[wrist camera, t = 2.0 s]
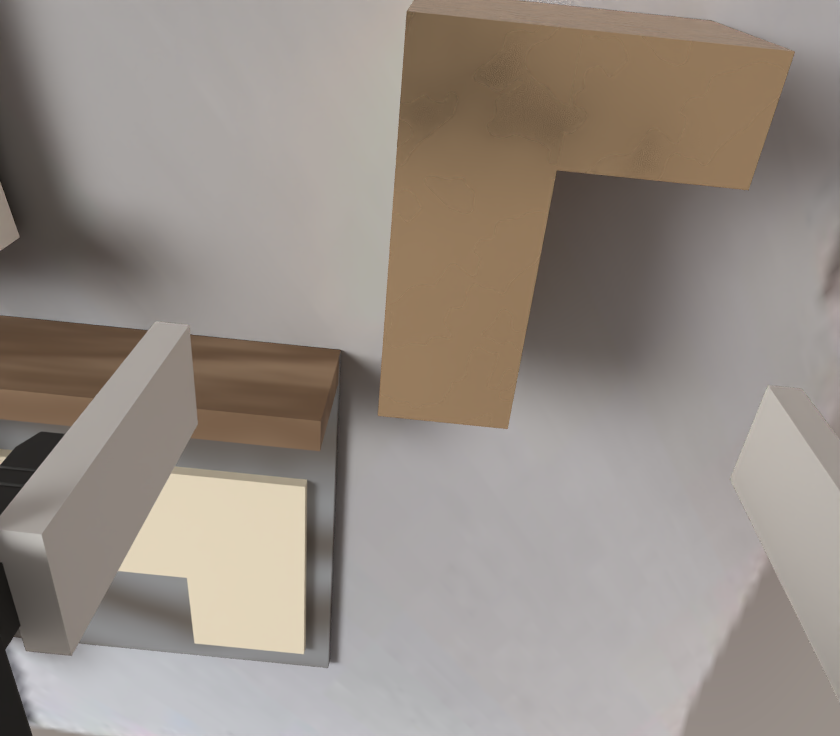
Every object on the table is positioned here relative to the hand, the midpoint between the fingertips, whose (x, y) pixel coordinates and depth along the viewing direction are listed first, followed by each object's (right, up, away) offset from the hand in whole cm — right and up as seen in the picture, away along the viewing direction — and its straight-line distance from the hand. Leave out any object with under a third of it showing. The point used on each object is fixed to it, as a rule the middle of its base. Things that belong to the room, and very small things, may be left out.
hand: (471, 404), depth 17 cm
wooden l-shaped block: (+4, +9, +14) cm, 17 cm away
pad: (-16, -10, +26) cm, 32 cm away
